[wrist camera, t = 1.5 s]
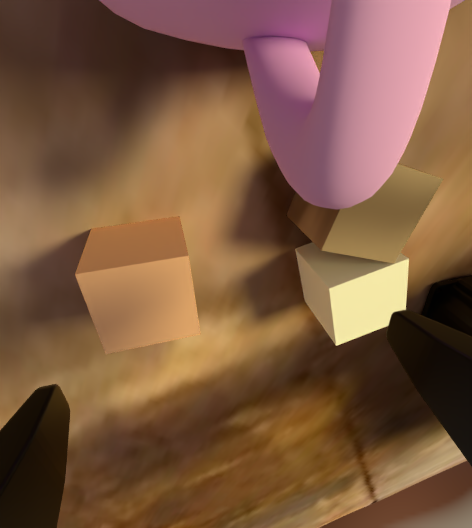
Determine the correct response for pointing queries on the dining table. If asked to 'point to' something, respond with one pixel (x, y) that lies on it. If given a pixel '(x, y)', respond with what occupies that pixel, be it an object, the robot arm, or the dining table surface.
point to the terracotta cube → (138, 284)
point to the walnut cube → (370, 217)
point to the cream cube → (351, 291)
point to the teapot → (321, 78)
